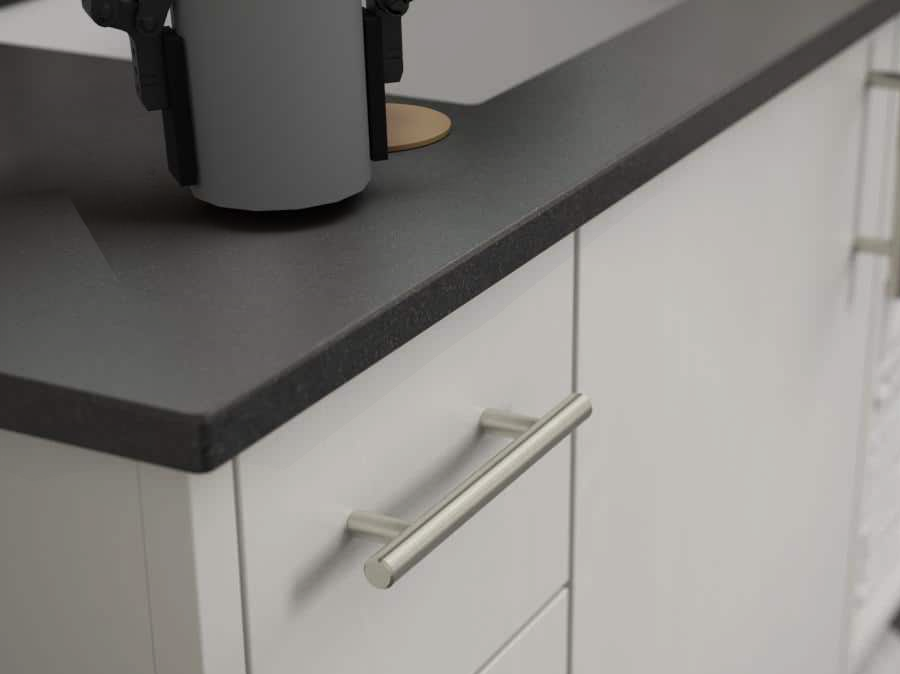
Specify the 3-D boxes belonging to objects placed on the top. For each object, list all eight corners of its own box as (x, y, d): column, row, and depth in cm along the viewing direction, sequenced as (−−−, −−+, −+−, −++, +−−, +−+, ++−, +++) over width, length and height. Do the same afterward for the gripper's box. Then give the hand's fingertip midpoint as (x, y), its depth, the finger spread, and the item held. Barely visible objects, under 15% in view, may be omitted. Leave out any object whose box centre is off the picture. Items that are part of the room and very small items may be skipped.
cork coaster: (316, 161, 83) (316, 155, 82) (270, 119, 90) (270, 114, 89) (475, 140, 85) (475, 135, 85) (418, 101, 92) (418, 96, 92)
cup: (155, 199, 74) (128, -28, 70) (242, 148, 81) (223, -62, 76) (323, 218, 72) (307, -17, 67) (398, 164, 78) (389, -53, 74)
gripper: (-30, -388, 59) (61, 220, 70) (515, -396, 66) (520, 158, 76) (-51, -387, 65) (35, 171, 76) (449, -395, 72) (462, 118, 82)
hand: (279, 164), depth 76 cm, fingers closed on cup, 8 cm apart
